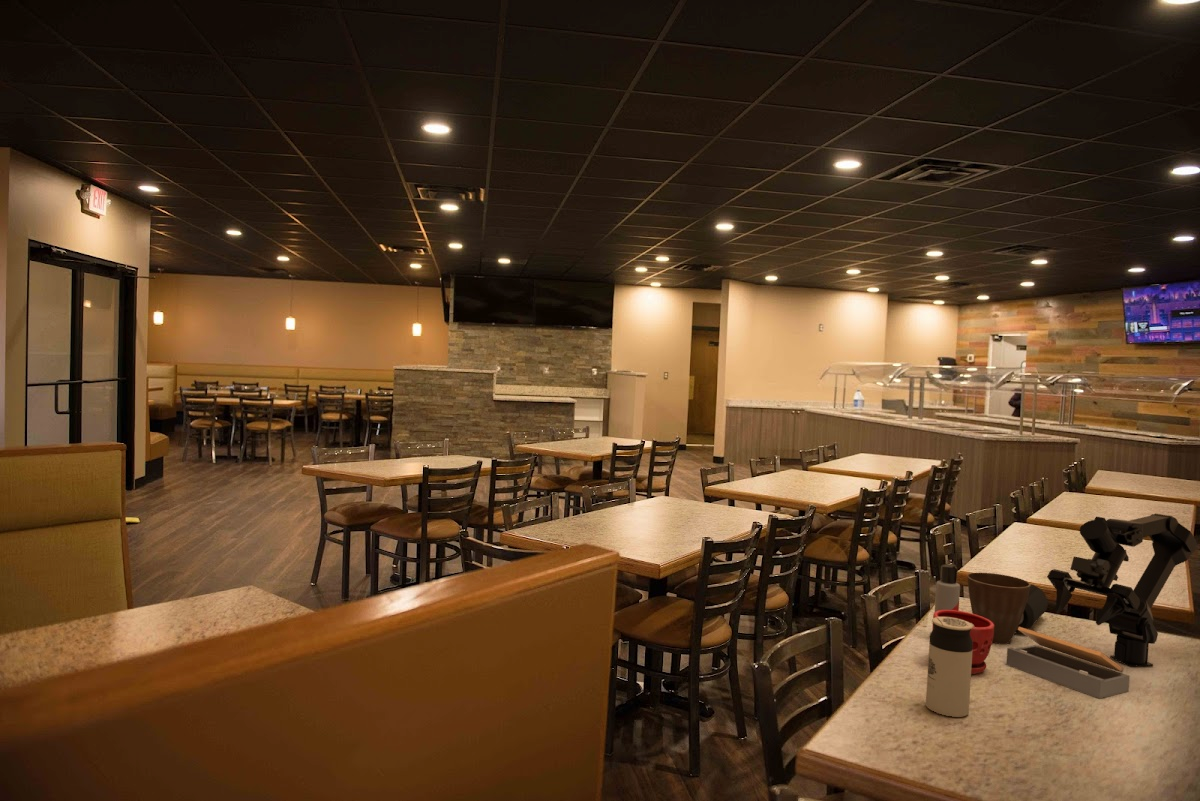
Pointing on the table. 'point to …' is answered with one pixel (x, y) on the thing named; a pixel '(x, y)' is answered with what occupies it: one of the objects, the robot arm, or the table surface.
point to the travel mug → (949, 667)
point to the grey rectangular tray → (1068, 671)
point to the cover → (1071, 649)
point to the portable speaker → (1033, 608)
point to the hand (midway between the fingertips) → (1076, 618)
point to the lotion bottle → (947, 589)
